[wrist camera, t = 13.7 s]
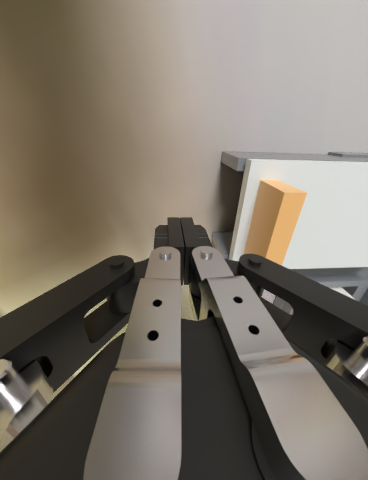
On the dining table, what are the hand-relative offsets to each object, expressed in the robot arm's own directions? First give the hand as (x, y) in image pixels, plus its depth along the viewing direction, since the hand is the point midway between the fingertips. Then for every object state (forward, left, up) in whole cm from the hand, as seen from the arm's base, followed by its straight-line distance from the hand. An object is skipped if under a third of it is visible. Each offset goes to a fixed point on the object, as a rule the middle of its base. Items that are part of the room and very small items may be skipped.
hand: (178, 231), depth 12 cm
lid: (+12, 0, -2) cm, 13 cm away
